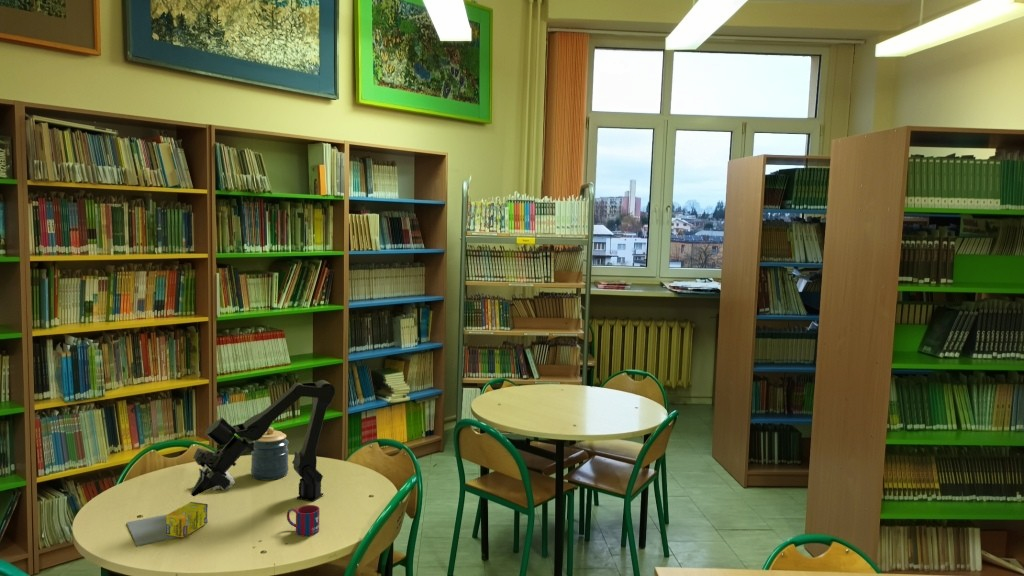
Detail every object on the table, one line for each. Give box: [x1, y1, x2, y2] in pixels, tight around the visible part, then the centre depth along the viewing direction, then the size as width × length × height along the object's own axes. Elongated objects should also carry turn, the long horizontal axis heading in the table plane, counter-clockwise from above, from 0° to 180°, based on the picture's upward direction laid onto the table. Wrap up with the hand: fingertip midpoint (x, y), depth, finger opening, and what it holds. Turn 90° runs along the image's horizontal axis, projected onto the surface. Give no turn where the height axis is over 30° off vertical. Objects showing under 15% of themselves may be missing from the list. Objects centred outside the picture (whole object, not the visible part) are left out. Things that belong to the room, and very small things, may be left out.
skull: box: [201, 467, 235, 492], centre depth 233 cm, size 8×9×12 cm
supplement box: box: [165, 501, 209, 538], centre depth 199 cm, size 6×6×11 cm
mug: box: [286, 504, 320, 537], centre depth 201 cm, size 7×10×7 cm
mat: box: [126, 513, 192, 547], centre depth 199 cm, size 14×18×1 cm
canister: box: [250, 426, 290, 481], centre depth 247 cm, size 13×13×18 cm
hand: (192, 495), depth 206 cm, fingers closed
